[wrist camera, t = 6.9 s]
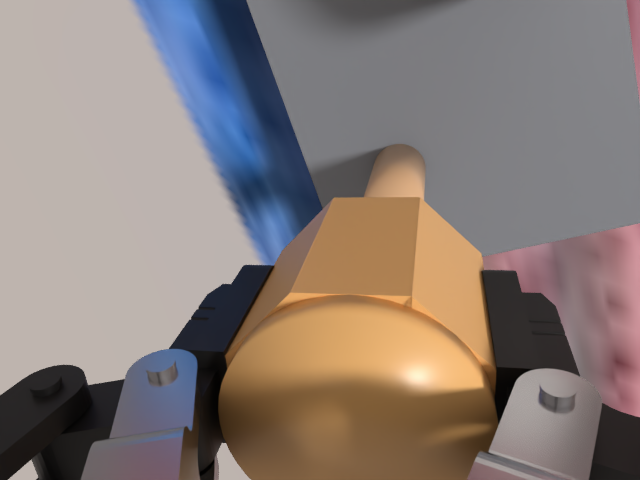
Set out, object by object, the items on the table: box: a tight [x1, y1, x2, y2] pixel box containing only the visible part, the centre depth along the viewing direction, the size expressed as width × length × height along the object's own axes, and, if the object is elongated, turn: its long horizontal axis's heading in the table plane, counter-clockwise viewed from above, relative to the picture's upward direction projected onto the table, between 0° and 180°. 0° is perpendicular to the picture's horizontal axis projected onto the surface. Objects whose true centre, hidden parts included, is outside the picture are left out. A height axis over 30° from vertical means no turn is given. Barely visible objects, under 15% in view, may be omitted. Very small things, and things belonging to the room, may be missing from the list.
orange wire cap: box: [218, 197, 498, 480], centre depth 12 cm, size 5×5×5 cm
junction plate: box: [246, 0, 640, 257], centre depth 19 cm, size 16×12×9 cm
